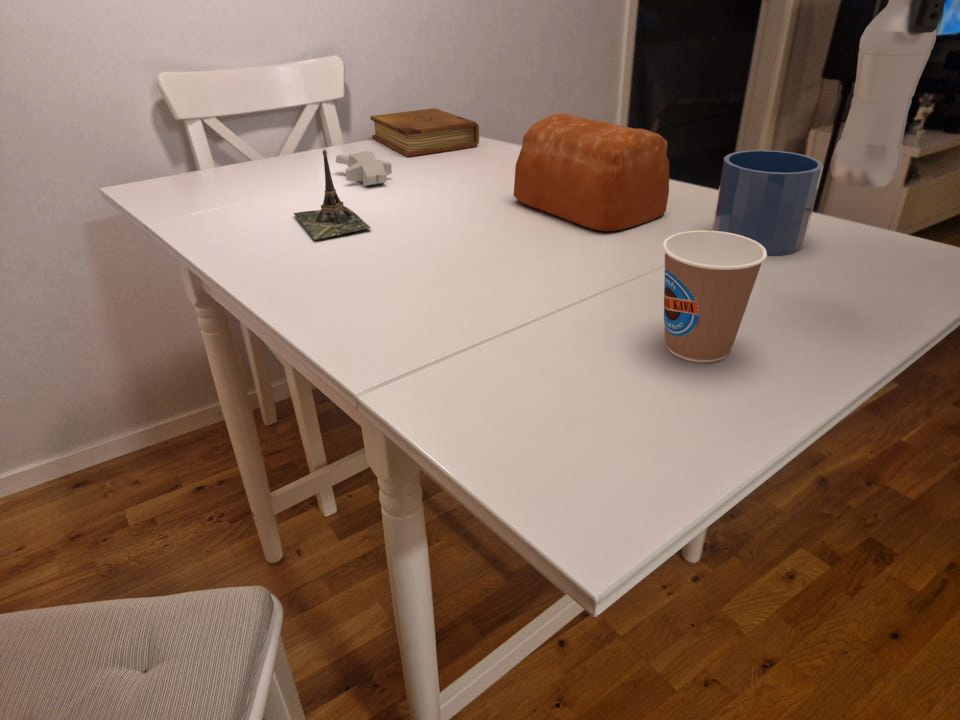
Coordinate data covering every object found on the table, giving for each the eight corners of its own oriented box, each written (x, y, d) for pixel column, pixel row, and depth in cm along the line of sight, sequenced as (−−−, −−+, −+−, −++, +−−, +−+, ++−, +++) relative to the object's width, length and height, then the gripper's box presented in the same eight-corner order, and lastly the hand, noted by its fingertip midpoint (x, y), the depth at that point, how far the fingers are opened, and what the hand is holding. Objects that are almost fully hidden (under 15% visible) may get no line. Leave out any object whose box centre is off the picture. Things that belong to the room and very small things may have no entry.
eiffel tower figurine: (291, 216, 117) (278, 138, 110) (346, 206, 121) (337, 131, 114) (314, 242, 105) (300, 157, 98) (374, 231, 109) (365, 149, 102)
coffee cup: (635, 332, 77) (645, 235, 71) (714, 321, 79) (731, 225, 73) (677, 377, 69) (693, 272, 63) (764, 363, 71) (789, 260, 65)
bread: (604, 237, 104) (612, 141, 96) (507, 201, 121) (507, 117, 113) (674, 214, 113) (686, 124, 105) (574, 183, 130) (578, 104, 122)
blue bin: (780, 223, 108) (796, 148, 102) (820, 253, 96) (841, 171, 90) (699, 226, 108) (711, 151, 101) (730, 257, 96) (745, 175, 90)
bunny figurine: (353, 171, 126) (328, 146, 137) (355, 196, 129) (331, 170, 140) (399, 164, 130) (371, 140, 141) (400, 188, 133) (373, 164, 144)
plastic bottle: (905, 193, 70) (973, -24, 59) (841, 195, 70) (898, -22, 59) (873, 176, 75) (931, -26, 65) (814, 178, 75) (862, -23, 65)
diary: (479, 146, 158) (478, 121, 155) (407, 157, 150) (405, 131, 148) (438, 129, 175) (437, 106, 172) (372, 138, 168) (370, 115, 165)
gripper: (1073, -212, 50) (990, 35, 58) (949, -177, 62) (895, 22, 71) (976, -210, 50) (907, 38, 58) (871, -175, 62) (827, 25, 71)
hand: (901, 28), depth 64 cm, fingers closed on plastic bottle, 6 cm apart
